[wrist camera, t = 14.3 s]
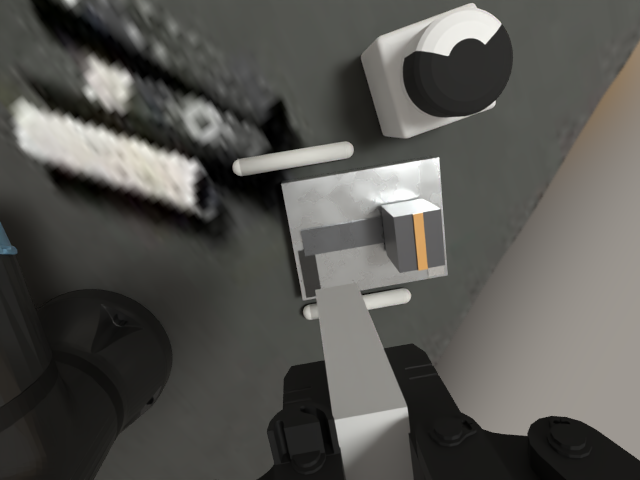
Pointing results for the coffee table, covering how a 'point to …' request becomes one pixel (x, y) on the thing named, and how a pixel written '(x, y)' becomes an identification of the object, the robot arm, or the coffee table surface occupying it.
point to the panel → (355, 223)
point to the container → (437, 70)
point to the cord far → (369, 301)
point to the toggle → (413, 235)
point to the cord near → (293, 158)
